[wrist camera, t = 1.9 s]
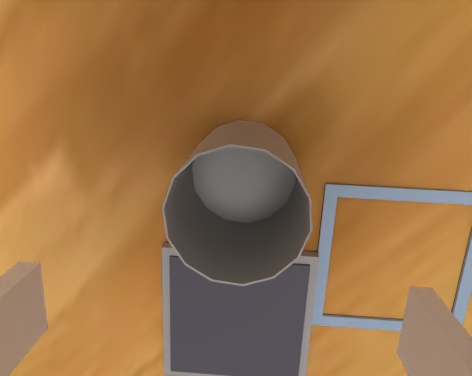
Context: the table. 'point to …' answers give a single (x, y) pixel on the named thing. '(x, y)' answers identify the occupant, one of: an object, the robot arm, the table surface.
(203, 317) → the pad
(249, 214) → the cup
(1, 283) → the robot arm
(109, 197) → the table surface
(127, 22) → the table surface
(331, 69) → the table surface
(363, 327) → the marked square
